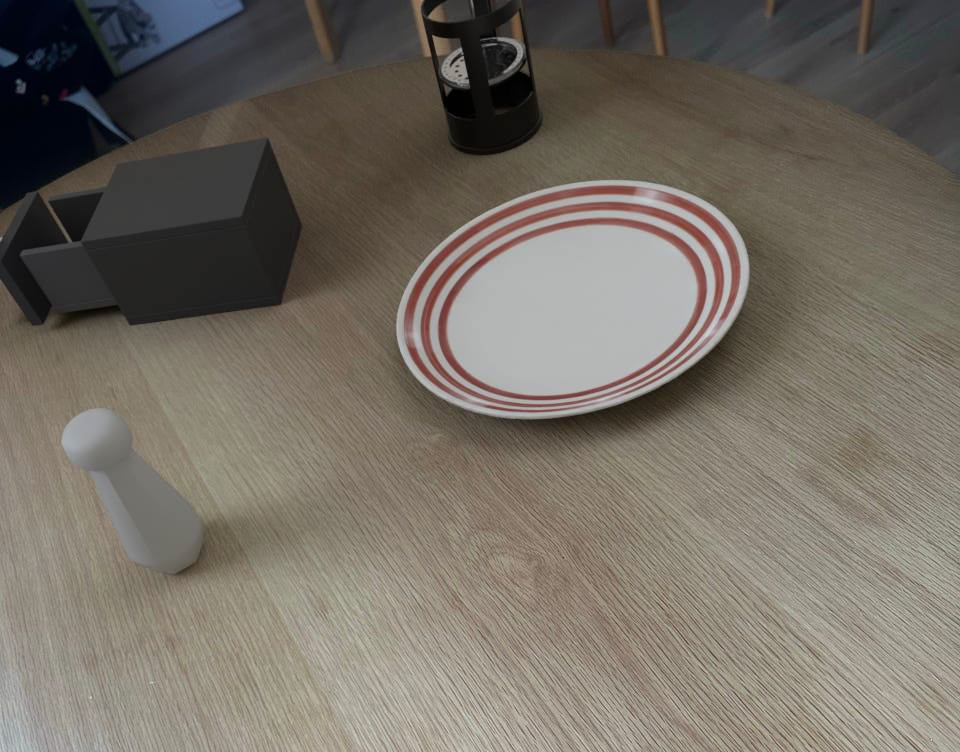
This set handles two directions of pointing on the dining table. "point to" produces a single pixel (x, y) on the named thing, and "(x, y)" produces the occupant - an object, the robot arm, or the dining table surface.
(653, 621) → the dining table surface
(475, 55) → the french press
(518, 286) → the dinner plate
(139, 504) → the salt shaker
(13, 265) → the dark pull-out drawer box
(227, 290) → the drawer casing
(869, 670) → the dining table surface
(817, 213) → the dining table surface
